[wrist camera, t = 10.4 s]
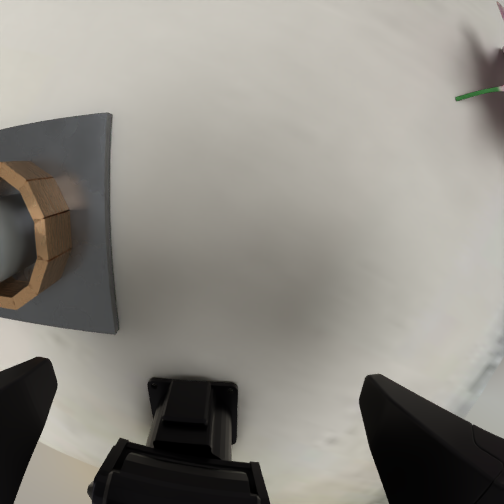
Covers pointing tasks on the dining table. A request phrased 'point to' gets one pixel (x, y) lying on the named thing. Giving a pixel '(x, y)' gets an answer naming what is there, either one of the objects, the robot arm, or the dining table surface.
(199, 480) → the robot arm
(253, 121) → the dining table surface
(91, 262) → the duct collar
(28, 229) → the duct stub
